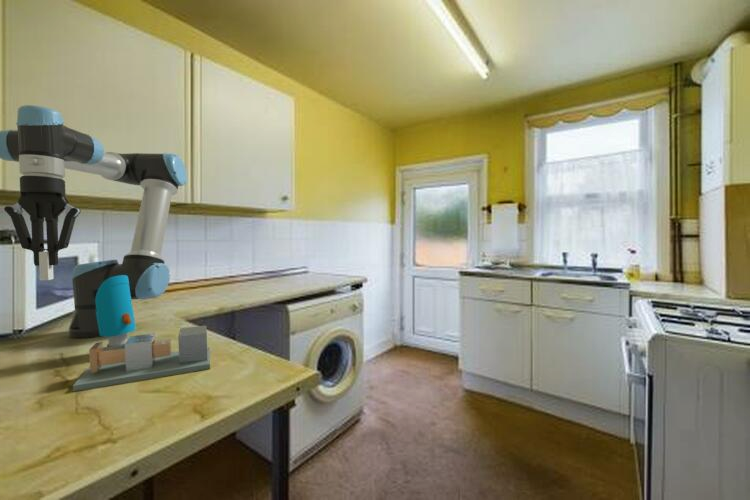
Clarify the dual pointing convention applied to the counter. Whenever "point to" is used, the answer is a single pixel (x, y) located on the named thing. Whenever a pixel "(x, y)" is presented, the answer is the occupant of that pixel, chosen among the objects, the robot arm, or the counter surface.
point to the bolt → (122, 353)
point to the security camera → (114, 310)
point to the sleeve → (139, 352)
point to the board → (137, 372)
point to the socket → (192, 344)
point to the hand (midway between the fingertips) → (46, 279)
